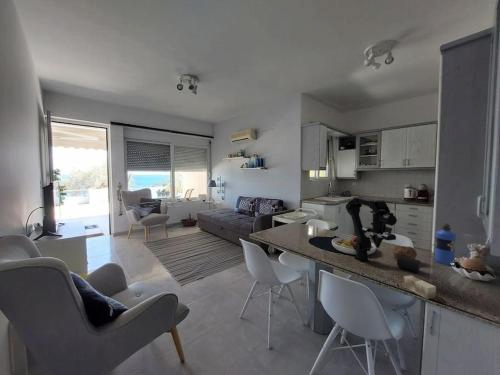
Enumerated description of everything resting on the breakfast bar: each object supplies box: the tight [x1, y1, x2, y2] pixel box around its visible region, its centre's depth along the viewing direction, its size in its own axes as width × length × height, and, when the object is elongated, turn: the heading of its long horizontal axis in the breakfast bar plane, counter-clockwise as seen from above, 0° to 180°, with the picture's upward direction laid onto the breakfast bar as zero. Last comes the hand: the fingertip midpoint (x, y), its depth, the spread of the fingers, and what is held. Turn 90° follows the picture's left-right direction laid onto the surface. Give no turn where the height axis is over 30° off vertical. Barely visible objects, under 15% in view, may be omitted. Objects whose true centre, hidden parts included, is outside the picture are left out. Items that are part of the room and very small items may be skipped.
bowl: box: [331, 235, 377, 256], centre depth 156 cm, size 30×30×8 cm
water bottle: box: [434, 222, 457, 266], centre depth 130 cm, size 9×9×25 cm
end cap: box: [396, 257, 422, 274], centre depth 121 cm, size 10×7×7 cm
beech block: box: [401, 274, 437, 300], centre depth 99 cm, size 5×5×12 cm
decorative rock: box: [391, 245, 418, 261], centre depth 134 cm, size 13×11×10 cm
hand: (377, 247), depth 122 cm, fingers closed
